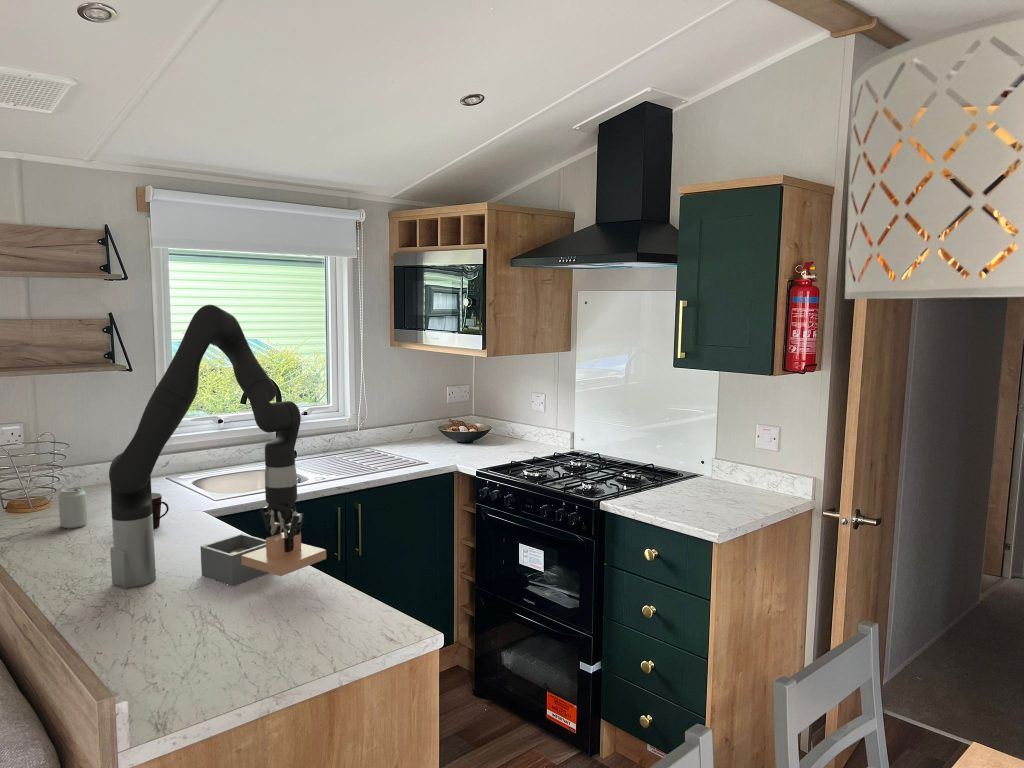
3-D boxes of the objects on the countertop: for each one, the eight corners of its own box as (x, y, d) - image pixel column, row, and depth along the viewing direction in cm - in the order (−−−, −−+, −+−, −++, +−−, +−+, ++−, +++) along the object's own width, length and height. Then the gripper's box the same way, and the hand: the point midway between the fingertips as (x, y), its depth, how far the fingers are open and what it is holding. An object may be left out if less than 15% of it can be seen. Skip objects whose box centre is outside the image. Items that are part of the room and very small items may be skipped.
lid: (280, 576, 181) (279, 548, 180) (241, 564, 188) (240, 537, 188) (326, 558, 193) (325, 532, 192) (287, 548, 200) (286, 522, 200)
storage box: (232, 586, 192) (231, 555, 191) (201, 575, 199) (200, 546, 198) (274, 571, 203) (273, 542, 202) (243, 561, 210) (242, 533, 209)
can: (91, 525, 240) (89, 488, 239) (65, 531, 235) (62, 493, 234) (83, 520, 246) (80, 484, 244) (57, 526, 240) (54, 488, 239)
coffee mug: (128, 527, 239) (126, 496, 238) (156, 521, 245) (155, 491, 244) (143, 535, 231) (141, 503, 230) (172, 529, 237) (170, 498, 236)
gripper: (249, 481, 189) (252, 549, 191) (288, 490, 181) (290, 560, 183) (274, 475, 195) (276, 540, 197) (312, 483, 187) (314, 551, 189)
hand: (283, 549), depth 190 cm, fingers closed on lid, 3 cm apart
